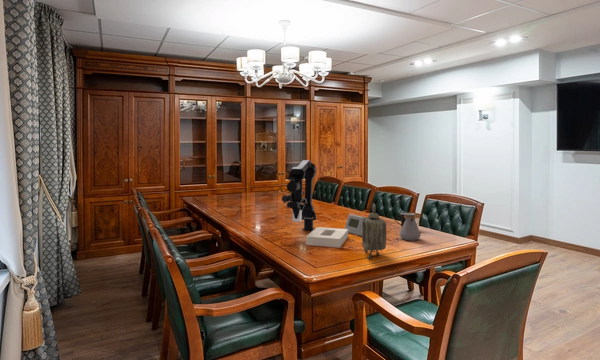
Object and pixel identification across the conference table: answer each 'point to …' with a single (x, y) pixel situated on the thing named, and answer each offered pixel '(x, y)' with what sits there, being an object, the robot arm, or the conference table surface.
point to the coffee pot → (410, 229)
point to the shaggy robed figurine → (373, 233)
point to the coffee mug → (403, 217)
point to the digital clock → (354, 224)
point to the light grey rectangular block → (298, 217)
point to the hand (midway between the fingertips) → (297, 218)
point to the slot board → (327, 237)
